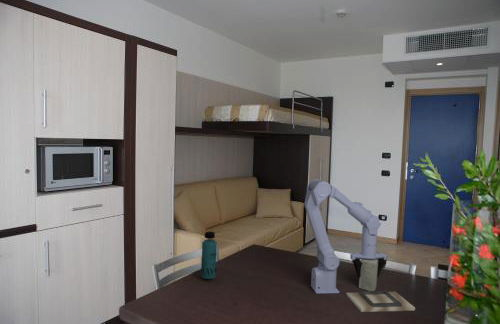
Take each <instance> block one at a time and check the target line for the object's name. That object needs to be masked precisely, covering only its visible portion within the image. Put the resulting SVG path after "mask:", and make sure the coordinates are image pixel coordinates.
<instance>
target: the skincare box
mask: <svg viewBox="0 0 500 324" xmlns="http://www.w3.org/2000/svg"><path fill="white" fill-rule="evenodd" d="M360 260H361V262H362V266H361V276H360V278H359V280H358V289H362V290H364V291H376V289H377V283H378V282H377V281H378V280H377V279H378V278H377V271H378V260H377V259H360Z"/></svg>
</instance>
